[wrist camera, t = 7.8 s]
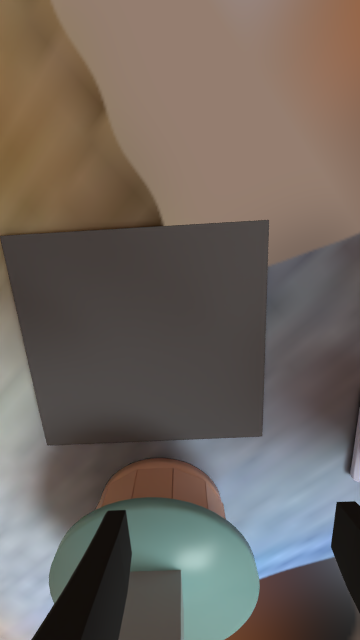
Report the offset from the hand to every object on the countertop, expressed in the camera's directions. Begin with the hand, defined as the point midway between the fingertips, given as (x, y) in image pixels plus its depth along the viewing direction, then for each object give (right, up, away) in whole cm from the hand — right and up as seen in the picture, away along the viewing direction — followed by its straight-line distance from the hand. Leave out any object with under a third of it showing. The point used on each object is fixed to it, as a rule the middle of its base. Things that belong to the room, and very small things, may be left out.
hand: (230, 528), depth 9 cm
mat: (-4, +5, +9) cm, 12 cm away
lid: (-3, -9, +8) cm, 13 cm away
